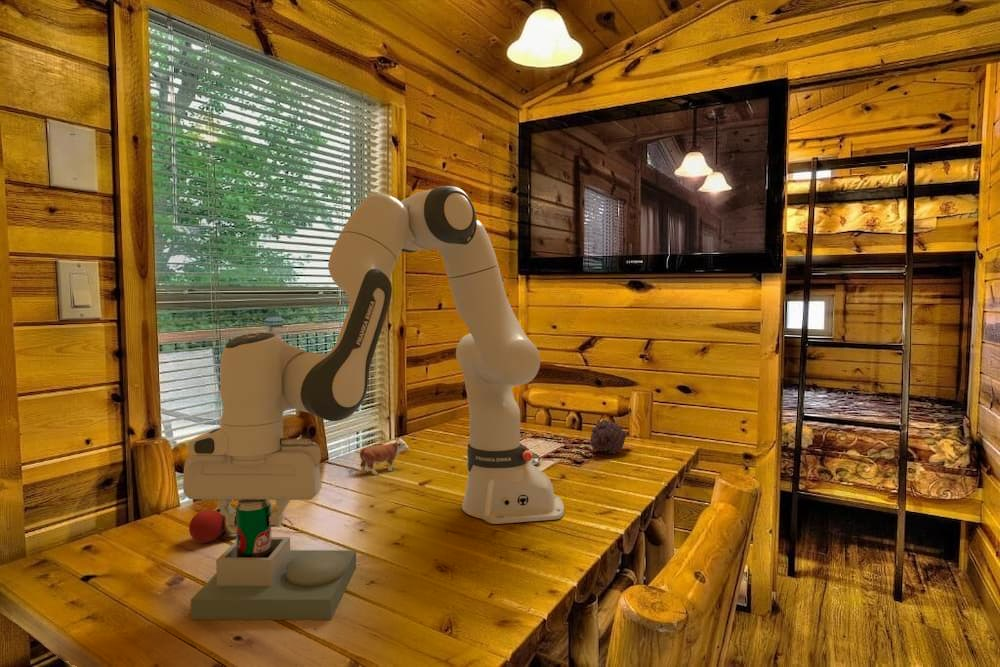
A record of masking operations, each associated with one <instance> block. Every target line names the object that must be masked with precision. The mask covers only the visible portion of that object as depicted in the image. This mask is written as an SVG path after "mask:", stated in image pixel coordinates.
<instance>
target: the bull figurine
mask: <svg viewBox="0 0 1000 667" xmlns="http://www.w3.org/2000/svg"><path fill="white" fill-rule="evenodd" d="M408 450H409V446H408V445H407V443H406V442H405V441H404V440H403V439H402V438H399V439H398V440H394V439H393V440H390V441H389V442H385V443H383V444H380V445H374V446H369V447H363V448H362V449H361V450H360V452H359V458H360V460H361V463H360V468H361V473H362V474H363V475H364V474H366V475H367V472H369V471H371V473H372V474H373V475H378V474H379V472H377V470H376V469H375V468H374V463H375V464H376V465H377V466H379V465H380V463H383V462H387V465H388V468H387V471H388V472H393V470H392V469H393V468H394V467H393V462H394V460H395V459H396V458H397V457H398V455H399V454H400V453H401V452H403V451H408Z"/></svg>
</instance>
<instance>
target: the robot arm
mask: <svg viewBox="0 0 1000 667" xmlns="http://www.w3.org/2000/svg"><path fill="white" fill-rule="evenodd" d="M433 249H436V250H437V251H438V252H439V254H440V255H441V257H442V259H443V265H444V269H445V273H446V277H447V282H448V284H449V288H450V292H451V295H452V299H453V302H454V306H455V310H456V312H457V314H458V316H459V317H460V319H462V321H463V323H464V324H465V326H466V327H467V329H468V331H469V333H468V334H465V335H463V337H462V338H461V339H460V340H459V342H458V343H457V346H456V350H455V357H456V358H455V359H456V361H457V363H458V366H459V367H460V369H461V370H460V371H461V373H462V378H463V381H464V386H465V392H466V396H467V401H468V409H469V443H468V445H467V450H466V467H467V471H468V473H467V481H466V488H465V493H464V498H463V500H462V504H461V510H462V511H463V512H464V513H465V514H467V515H469V516H472V517H474V518H478V519H481V520H483V521H485V522H487V523H488V524H492V525H499V524H513V523H524V522H525V523H526V522H527V523H528V522H538V521H539V522H541V521H552V520H553V521H554V520H559V519H561V518H562V517H563V516H564V514H565V505H564V502H563V500H562V498H561V497H559V496H557V494H555V493H554V486H553V484H552V481H551V479H550V478H549V476H548V475H547V474H546V473H544V472H543V471H542V470H541V469H539V468H538V467H537V466H535V465H534V464H532V463H531V461H532V459H533V453H532V452H531V450H530V449H529V448H528V447H527V445H526V444H524V445H523V444H522V443H521V410H520V407H519V403H517V401H516V399H515V396H514V394H513V389H512V387H517V386H524V385H527V384H529V383H530V382H532V381H533V380H534V379H535V378H536V376H537V375H538V372H539V370H540V367H541V355H540V351H539V350H538V349H539V348H538V347H537V346H536V345H535V344H534V343H533V342H532V341H531V340H530V338H528V336H527V334H526V332H525V331H524V330H523V328H522V326H521V324H520V322H519V320H518V318H517V317H516V314H515V312H514V311H513V308H512V306H511V303H510V301H509V299H508V296H507V292H506V288H505V285H504V282H503V278H502V274H501V271H500V270H501V269H500V266H499V262H498V258H497V256H496V255H497V254H496V252H495V249H494V247H493V244H492V242H491V238H490V237H489V234H488V232H487V230H486V228H485V225H483V223H482V222H481V221H480V220H478V219H477V214H476V209H475V206H474V204H473V202H472V200H471V199H470V197H469V195H468V194H467V193H466V192H465V191H464V190H463V189H461V188H459V187H457V186H452V185H441V186H440V185H439V186H436V187H434V188H432V189H425V190H422V191H418V192H416V193H414V194H412V195H410V196H409V197H406V198H404V199H401V200H399V199H398V198H396V197H394V196H392V195H389V194H386V193H379V192H378V193H372V194H370V195H368V196H367V197H365V198H364V199H363V200H362V202H360V204H359V205H358V206H357V208H355V210H354V211H353V213H351V216H350V217H349V219H348V220H347V221H346V223H345V225H344V226H343V228H342V230H341V232H340V234H339V235H338V238H337V239H336V241H335V243H334V245H333V247H332V250H331V252H330V255H329V259H328V264H327V265H328V266H327V267H328V271H329V275H330V277H331V279H332V280H333V282H334V284H335V285H336V286H337V287H338V288H339V289H340V290H341V291H343V292H344V293H346V294H347V295H348V300H349V305H348V306H349V307H348V309H347V312H346V316H345V318H344V321H343V323H342V326H341V329H340V331H339V334H338V338H337V339H336V343H335V345H334V346H333V348H332V349H331V350H330V351H328V352H326V353H325V354H324V353H323V354H322V353H317V352H312V351H307V350H304V349H301V348H298V347H296V346H293V345H291V344H288V343H286V341H284V340H282V339H280V338H279V337H278V335H276V334H275V333H270V332H257V333H256V332H255V333H248V334H247V333H246V334H243V335H240V336H236V337H233V339H231V340H229V341H227V343H226V344H225V346H224V348H223V350H222V354H221V361H220V362H221V363H220V374H219V376H220V378H219V381H220V382H219V383H220V384H219V388H220V390H219V391H220V392H219V393H220V397H221V401H222V406H223V409H222V410H223V411H222V415H221V417H220V427H219V428H215V429H212V430H210V431H207V432H205V433H202V434H200V435H198V436H196V437H193V438H192V439H191V440H190V441H188V442H187V445H186V446H187V448H186V449H187V452H188V454H189V456H188V457H187V459H186V460H185V462H184V467H183V478H182V491H183V493H184V495H185V496H186V497H187V498H188V500H217V507H219V509H220V510H221V512H222V513H223V515H224V516H226V527H235V526H236V512H234V510H235V509H234V508H233V506H232V504H231V502H233V501H234V500H237V501H239V500H269V501H271V500H272V501H273V500H275V504H276V506H280V507H279V509H278V511H277V512H273V513H272V515H270V516H269V521H270V523H269V526H270V527H271V528H274V527H275V528H278V527H281V525H282V524H283V521H284V520H283V519H284V518H283V514H284V512H285V510H286V509H287V506H288V505H289V503H290V500H291V501H292V500H293V501H301V500H303V501H307V500H308V501H311V500H313V499H314V498H315V497H316V496H317V495H318V493H319V492H320V491H321V488H322V478H321V477H322V476H321V469H320V463H321V457H322V456H321V452H322V451H321V447H320V445H318V443H316V442H315V441H312V439H310V438H302V439H301V438H300V439H298V438H284V412H285V410H287V409H295V410H297V411H300V412H304V413H308V414H311V415H314V416H316V417H318V418H320V419H322V420H326V421H330V422H340V421H342V420H346V419H348V418H349V417H350V416H352V415H353V414H354V413H355V412H357V411H358V409H359V408H360V407H361V406H362V404H363V402H364V401H365V398H366V395H367V391H368V387H369V378H370V370H371V365H372V360H373V359H374V358H373V357H374V354H375V351H376V348H377V345H378V342H379V340H380V339H379V338H380V336H381V333H382V329H383V326H384V324H385V320H386V318H387V315H388V311H389V307H390V303H391V301H392V293H393V287H392V283H391V277H392V274H393V270H394V269H395V266H396V264H397V262H398V259H399V257H400V255H401V252H404V253H414V252H418V251H421V252H422V251H428V250H433ZM282 513H283V514H282Z"/></svg>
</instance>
